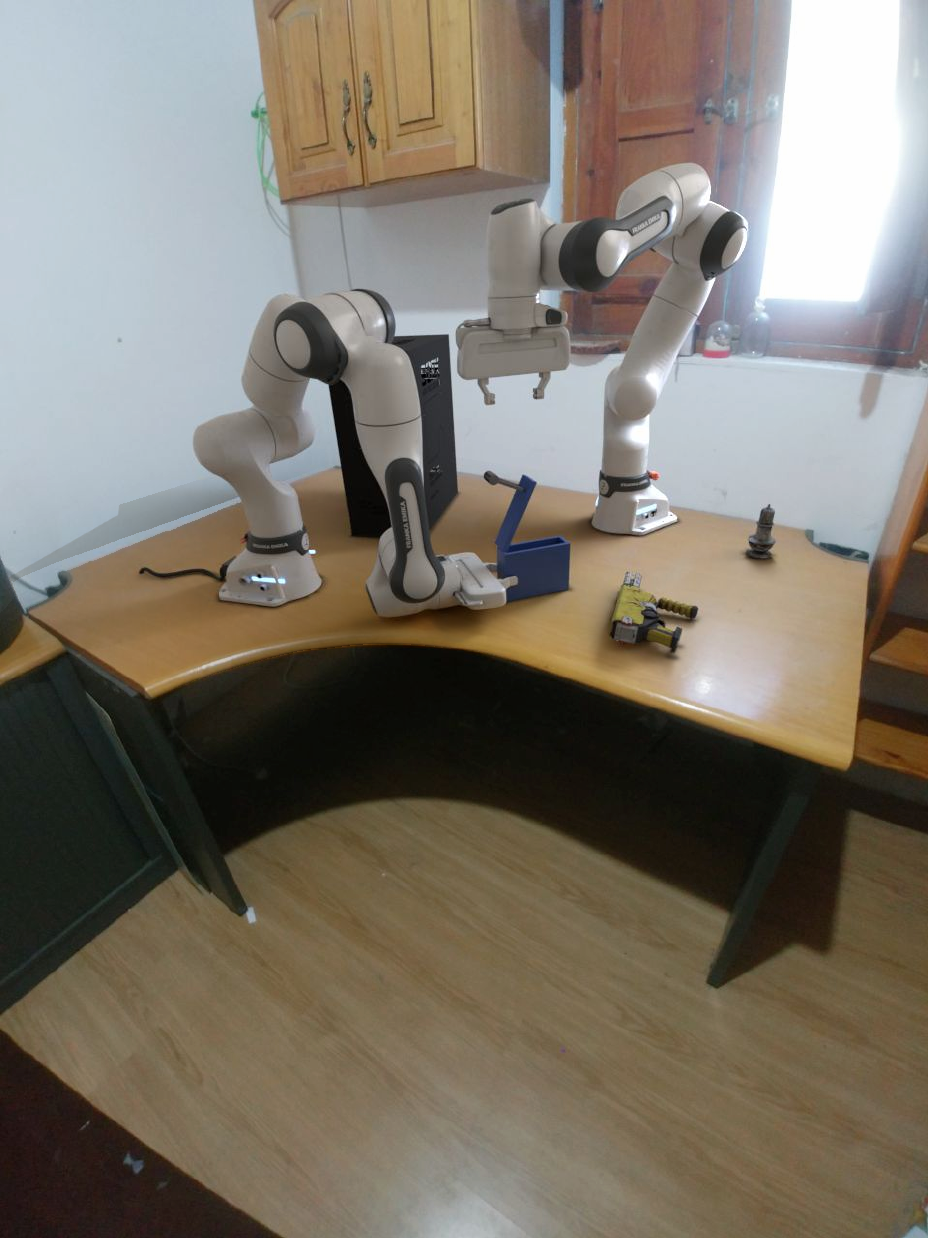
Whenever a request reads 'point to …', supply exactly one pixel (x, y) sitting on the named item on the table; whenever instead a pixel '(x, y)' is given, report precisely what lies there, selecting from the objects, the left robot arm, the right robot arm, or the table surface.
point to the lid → (512, 507)
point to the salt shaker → (762, 535)
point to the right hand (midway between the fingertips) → (514, 401)
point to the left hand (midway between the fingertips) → (510, 573)
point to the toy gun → (645, 616)
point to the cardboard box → (437, 440)
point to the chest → (535, 567)
